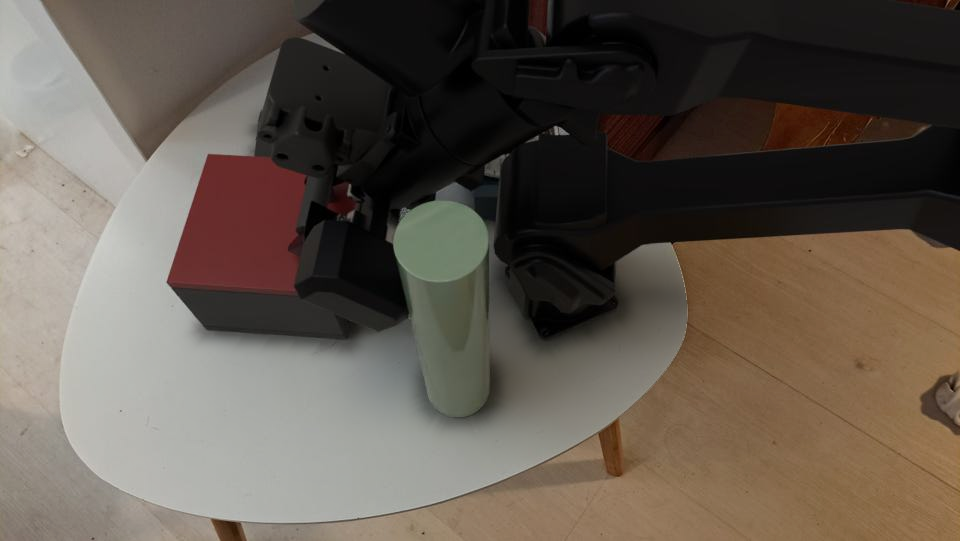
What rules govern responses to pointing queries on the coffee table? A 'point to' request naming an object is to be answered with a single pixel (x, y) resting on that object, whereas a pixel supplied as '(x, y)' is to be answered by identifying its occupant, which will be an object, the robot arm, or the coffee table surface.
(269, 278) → the storage box lid
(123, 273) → the coffee table surface
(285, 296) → the lidded storage box
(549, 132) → the watch
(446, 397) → the pale green cylinder
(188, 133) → the coffee table surface
